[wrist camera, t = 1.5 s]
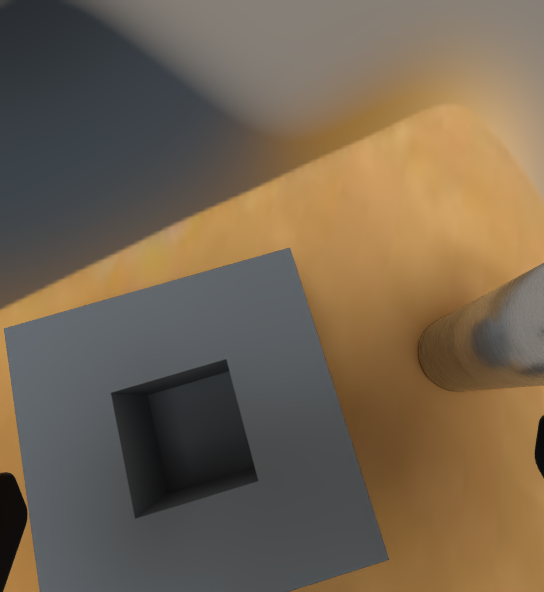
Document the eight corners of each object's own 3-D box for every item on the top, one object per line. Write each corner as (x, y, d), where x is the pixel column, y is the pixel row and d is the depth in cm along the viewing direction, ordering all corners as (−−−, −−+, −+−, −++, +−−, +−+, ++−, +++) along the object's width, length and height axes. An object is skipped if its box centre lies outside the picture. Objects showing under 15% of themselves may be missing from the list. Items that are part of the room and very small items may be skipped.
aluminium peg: (505, 379, 23) (727, 354, 12) (434, 400, 23) (587, 397, 11) (475, 309, 24) (654, 220, 13) (407, 329, 24) (524, 258, 12)
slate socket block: (363, 521, 22) (389, 559, 16) (109, 601, 21) (50, 667, 16) (288, 281, 25) (289, 247, 19) (65, 345, 24) (3, 328, 19)
